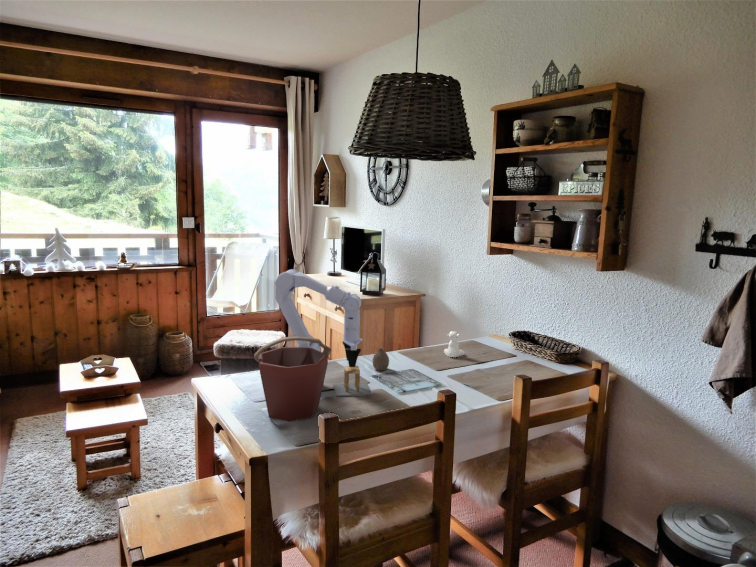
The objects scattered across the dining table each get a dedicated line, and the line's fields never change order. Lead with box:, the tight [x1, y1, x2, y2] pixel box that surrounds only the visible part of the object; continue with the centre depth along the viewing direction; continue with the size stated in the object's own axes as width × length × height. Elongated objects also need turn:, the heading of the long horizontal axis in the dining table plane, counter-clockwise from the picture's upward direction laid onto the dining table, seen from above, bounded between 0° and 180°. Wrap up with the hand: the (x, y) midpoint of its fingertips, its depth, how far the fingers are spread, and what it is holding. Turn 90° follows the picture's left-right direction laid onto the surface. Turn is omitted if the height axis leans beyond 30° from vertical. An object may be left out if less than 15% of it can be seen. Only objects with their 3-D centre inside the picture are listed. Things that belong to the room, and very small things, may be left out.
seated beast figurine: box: [443, 330, 466, 359], centre depth 233 cm, size 10×9×12 cm
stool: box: [343, 365, 361, 392], centre depth 187 cm, size 5×5×8 cm
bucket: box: [253, 336, 332, 423], centre depth 166 cm, size 24×22×25 cm
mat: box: [332, 382, 373, 398], centre depth 188 cm, size 13×11×1 cm
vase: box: [372, 348, 390, 372], centre depth 211 cm, size 7×7×9 cm
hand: (350, 363), depth 189 cm, fingers open, 7 cm apart
